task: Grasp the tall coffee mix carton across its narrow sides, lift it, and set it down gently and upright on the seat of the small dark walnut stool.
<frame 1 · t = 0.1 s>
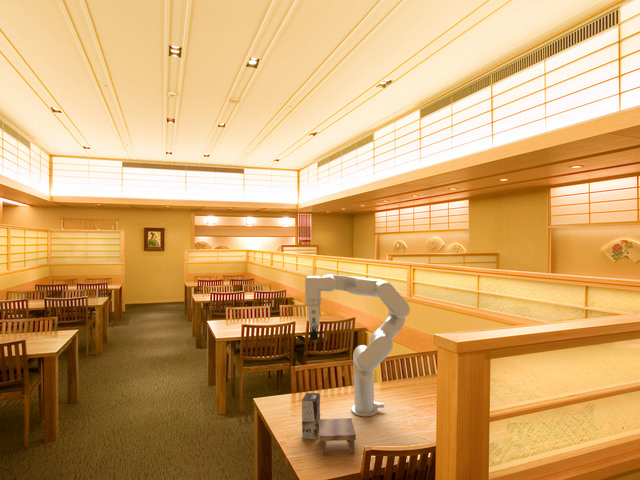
hand: (313, 337, 189), 37 cm above the table, tool pointing down, fingers open, 9 cm apart
coffee box: (311, 434, 169), on the table
stool: (336, 446, 159), on the table
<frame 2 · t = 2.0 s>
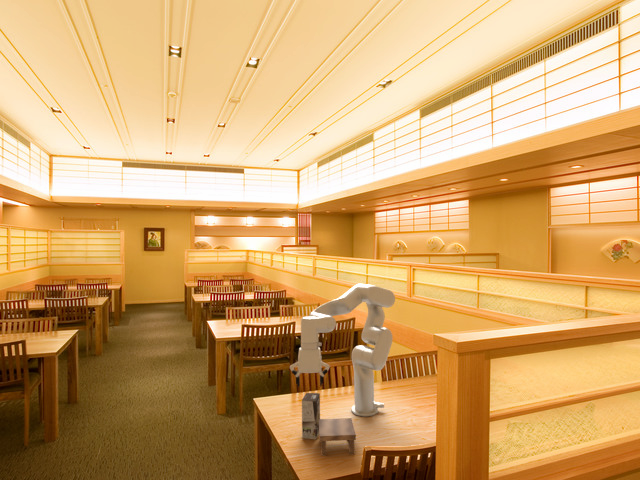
hand: (309, 385, 169), 21 cm above the table, tool pointing down, fingers open, 9 cm apart
nothing on the table moved.
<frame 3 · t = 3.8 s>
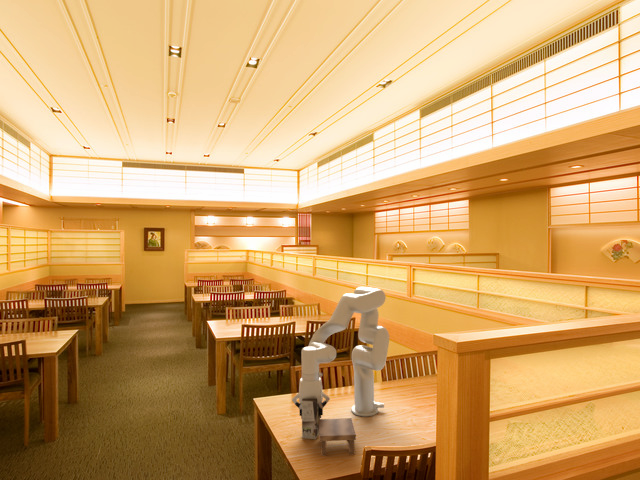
hand: (311, 416, 169), 7 cm above the table, tool pointing down, fingers closed on coffee box, 7 cm apart
coffee box: (311, 434, 169), on the table, touching gripper
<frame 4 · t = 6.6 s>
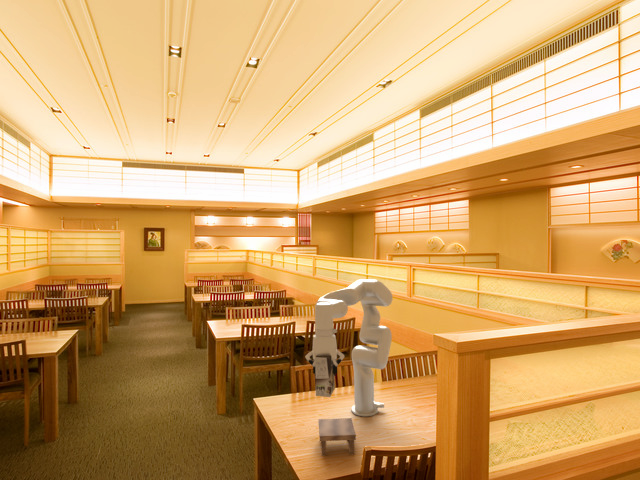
hand: (325, 374, 163), 28 cm above the table, tool pointing down, fingers closed on coffee box, 7 cm apart
coffee box: (325, 393, 163), point 20 cm above the table, touching gripper
when the fingers open (17 cm above the table, at t = 9.6 s): coffee box drops 1 cm, resting on stool.
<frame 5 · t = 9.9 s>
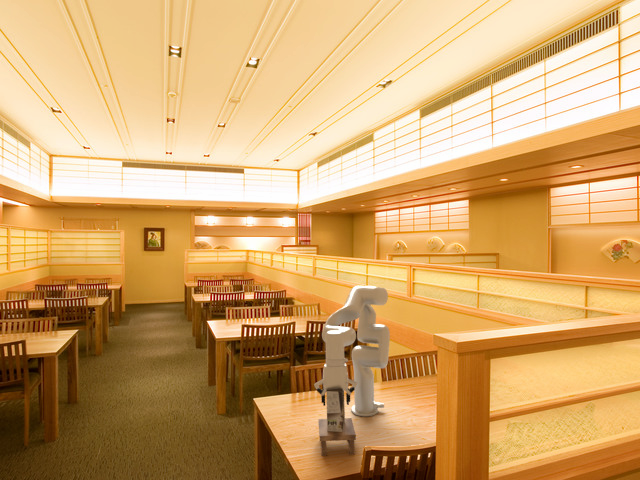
hand: (335, 403, 159), 17 cm above the table, tool pointing down, fingers open, 9 cm apart
coffee box: (336, 426, 159), point 8 cm above the table, touching stool
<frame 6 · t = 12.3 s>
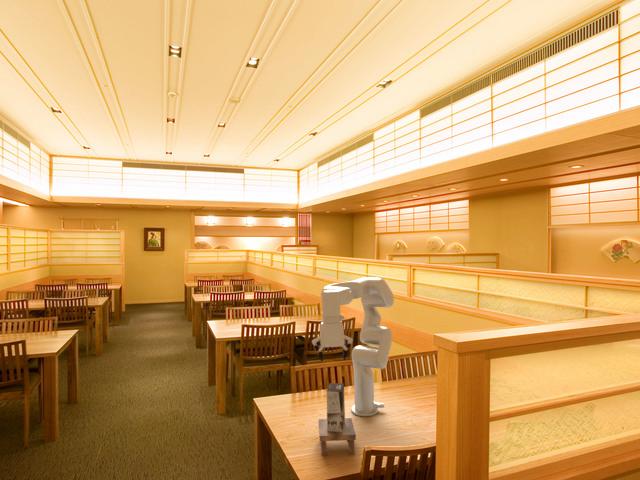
hand: (332, 359, 165), 33 cm above the table, tool pointing down, fingers open, 9 cm apart
nothing on the table moved.
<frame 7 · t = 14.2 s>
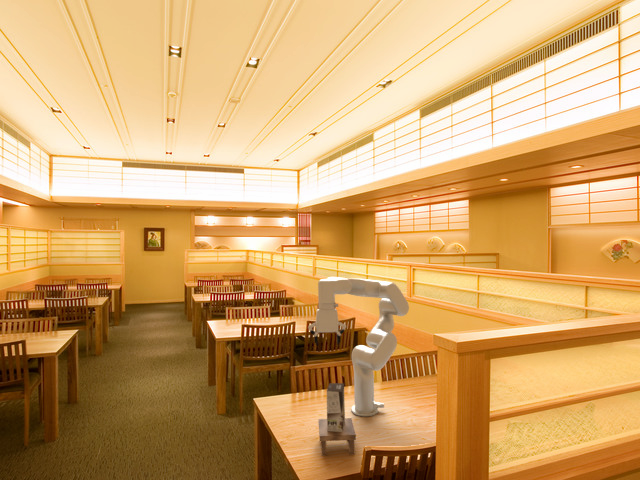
hand: (327, 344, 177), 36 cm above the table, tool pointing down, fingers open, 9 cm apart
nothing on the table moved.
at the end: coffee box inside the target area on the stool (0.1 cm from its centre), point 7.8 cm above the stool's base; coffee box tilted 0°; the gripper is holding nothing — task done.
